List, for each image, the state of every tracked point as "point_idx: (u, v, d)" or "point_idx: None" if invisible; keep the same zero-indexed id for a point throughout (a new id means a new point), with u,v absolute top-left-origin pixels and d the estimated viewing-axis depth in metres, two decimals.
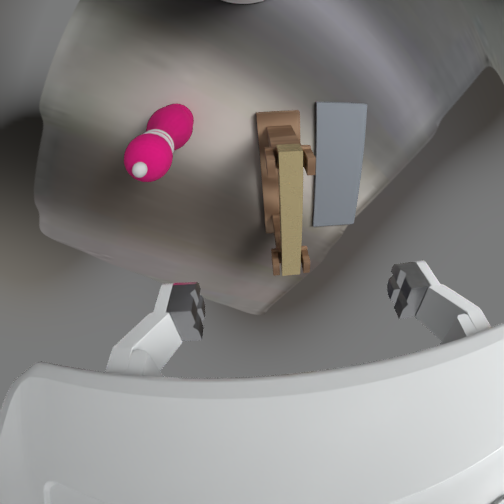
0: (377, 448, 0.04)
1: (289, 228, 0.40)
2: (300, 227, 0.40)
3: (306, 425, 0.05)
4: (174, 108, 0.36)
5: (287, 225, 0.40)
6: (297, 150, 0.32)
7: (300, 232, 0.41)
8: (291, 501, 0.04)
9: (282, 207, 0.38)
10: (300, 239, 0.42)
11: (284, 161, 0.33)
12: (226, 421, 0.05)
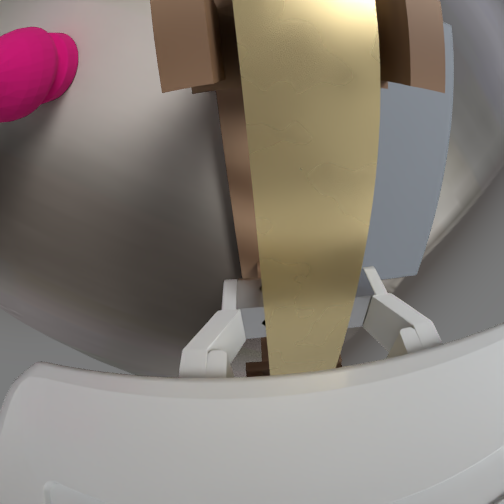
0: (377, 448, 0.04)
1: (300, 342, 0.10)
2: (339, 337, 0.10)
3: (306, 425, 0.05)
4: (23, 28, 0.08)
5: (289, 335, 0.10)
6: None
7: (336, 349, 0.11)
8: (291, 501, 0.04)
9: (268, 270, 0.08)
10: (333, 365, 0.11)
11: None
12: (226, 421, 0.05)
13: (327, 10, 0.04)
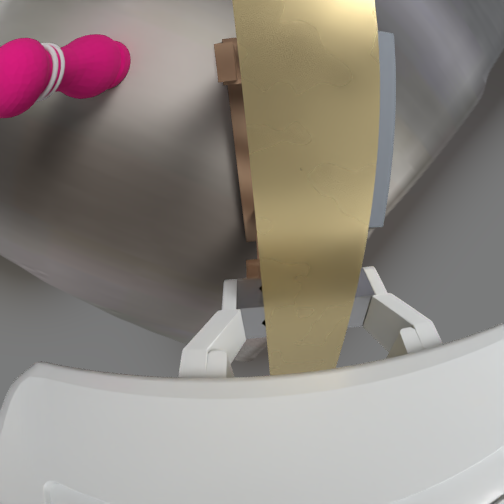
0: (377, 448, 0.04)
1: (300, 342, 0.10)
2: (339, 337, 0.10)
3: (306, 425, 0.05)
4: (95, 34, 0.17)
5: (289, 335, 0.10)
6: None
7: (336, 349, 0.11)
8: (291, 502, 0.04)
9: (268, 270, 0.08)
10: (332, 365, 0.11)
11: None
12: (226, 421, 0.05)
13: (327, 11, 0.04)
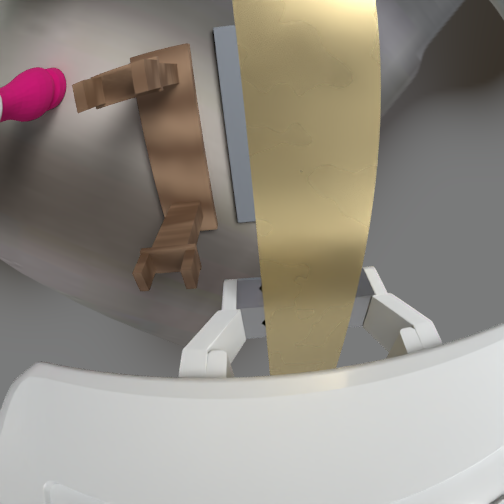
0: (377, 448, 0.04)
1: (300, 343, 0.10)
2: (339, 338, 0.10)
3: (306, 425, 0.05)
4: (33, 68, 0.19)
5: (289, 336, 0.10)
6: None
7: (336, 350, 0.11)
8: (291, 502, 0.04)
9: (269, 271, 0.08)
10: (333, 366, 0.11)
11: None
12: (226, 421, 0.05)
13: (327, 12, 0.04)
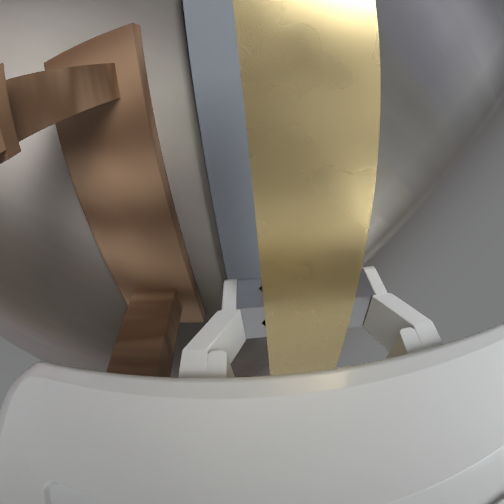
0: (377, 448, 0.04)
1: (300, 343, 0.10)
2: (339, 338, 0.10)
3: (306, 425, 0.05)
4: None
5: (289, 336, 0.10)
6: None
7: (336, 350, 0.11)
8: (291, 502, 0.04)
9: (269, 272, 0.08)
10: (332, 366, 0.11)
11: (267, 0, 0.04)
12: (226, 421, 0.05)
13: (327, 13, 0.04)
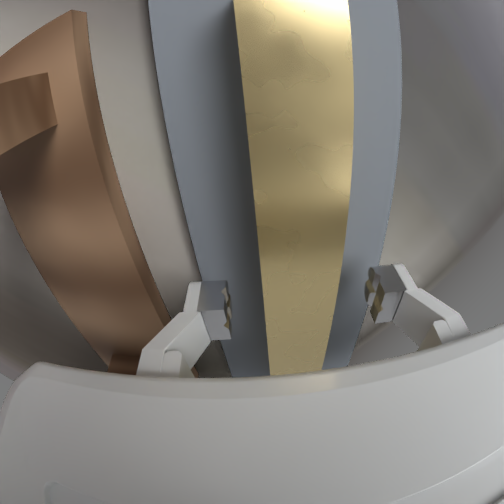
0: (377, 448, 0.04)
1: (294, 310, 0.11)
2: (330, 305, 0.11)
3: (306, 425, 0.05)
4: None
5: (284, 301, 0.11)
6: None
7: (328, 319, 0.12)
8: (291, 501, 0.04)
9: (264, 236, 0.09)
10: (326, 336, 0.13)
11: (262, 13, 0.05)
12: (226, 421, 0.05)
13: (309, 22, 0.05)
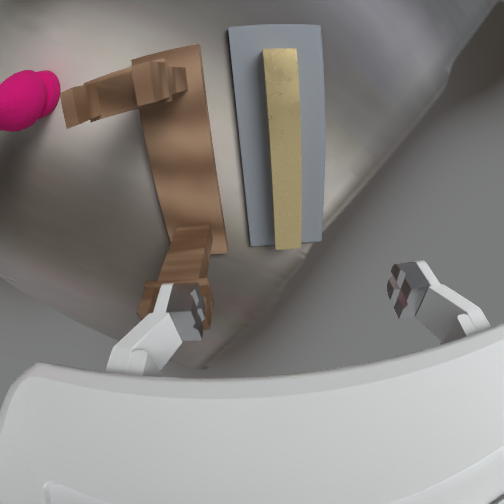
0: (377, 448, 0.04)
1: (284, 167, 0.27)
2: (299, 166, 0.27)
3: (306, 425, 0.05)
4: (23, 71, 0.16)
5: (279, 162, 0.26)
6: (289, 48, 0.20)
7: (299, 175, 0.27)
8: (291, 502, 0.04)
9: (271, 131, 0.24)
10: (300, 187, 0.28)
11: (271, 61, 0.20)
12: (226, 421, 0.05)
13: (285, 64, 0.20)
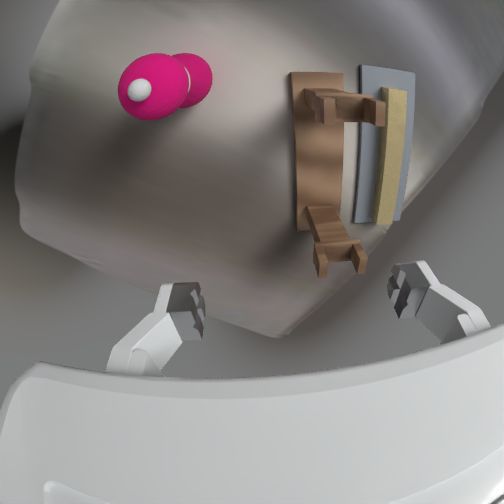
0: (377, 448, 0.04)
1: (391, 167, 0.36)
2: (400, 167, 0.36)
3: (306, 425, 0.05)
4: (190, 54, 0.25)
5: (389, 164, 0.36)
6: (402, 90, 0.29)
7: (399, 173, 0.37)
8: (291, 501, 0.04)
9: (387, 143, 0.34)
10: (398, 181, 0.37)
11: (392, 97, 0.30)
12: (226, 421, 0.05)
13: (400, 100, 0.30)
